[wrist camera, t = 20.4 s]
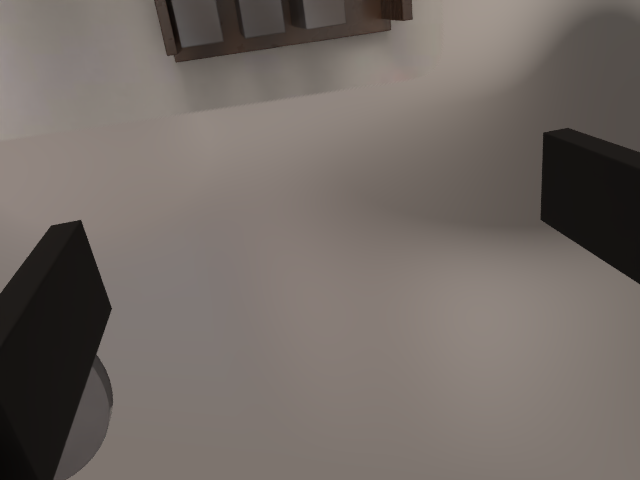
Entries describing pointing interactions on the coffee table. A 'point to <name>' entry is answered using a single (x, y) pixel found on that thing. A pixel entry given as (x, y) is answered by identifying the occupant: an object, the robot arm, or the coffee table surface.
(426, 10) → the coffee table surface
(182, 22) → the brown rack
